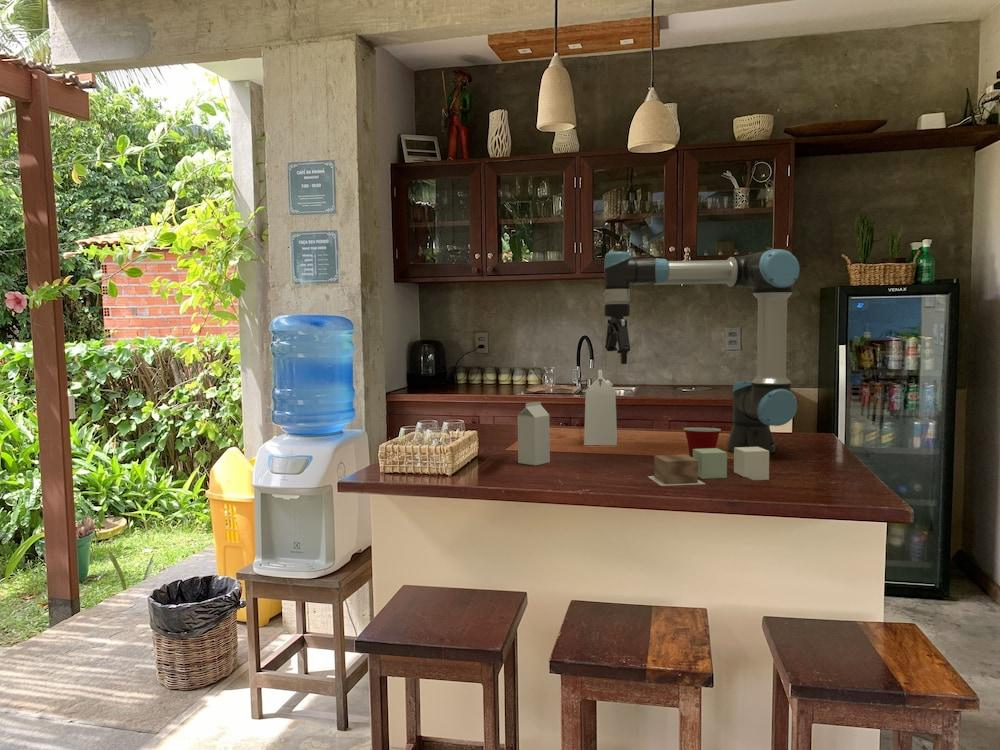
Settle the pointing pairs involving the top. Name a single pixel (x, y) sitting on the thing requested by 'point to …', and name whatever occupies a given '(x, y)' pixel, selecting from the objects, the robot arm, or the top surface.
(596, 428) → the milk
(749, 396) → the robot arm
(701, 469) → the sage brick
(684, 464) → the walnut base brick
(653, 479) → the plate
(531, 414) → the milk carton
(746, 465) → the cream brick
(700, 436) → the plastic cup
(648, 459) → the top surface
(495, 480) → the top surface
